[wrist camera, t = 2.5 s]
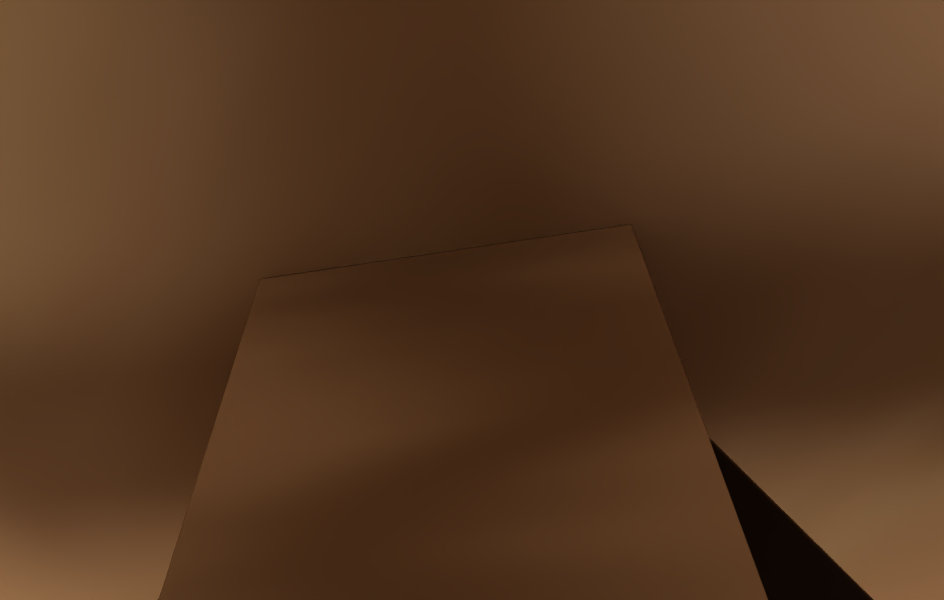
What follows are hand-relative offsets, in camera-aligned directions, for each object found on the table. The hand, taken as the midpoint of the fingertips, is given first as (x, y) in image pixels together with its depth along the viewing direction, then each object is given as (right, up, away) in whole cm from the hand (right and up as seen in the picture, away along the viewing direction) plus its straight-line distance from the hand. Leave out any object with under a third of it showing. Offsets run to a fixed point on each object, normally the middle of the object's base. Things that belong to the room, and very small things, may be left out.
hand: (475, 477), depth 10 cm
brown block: (0, +1, +1) cm, 2 cm away
